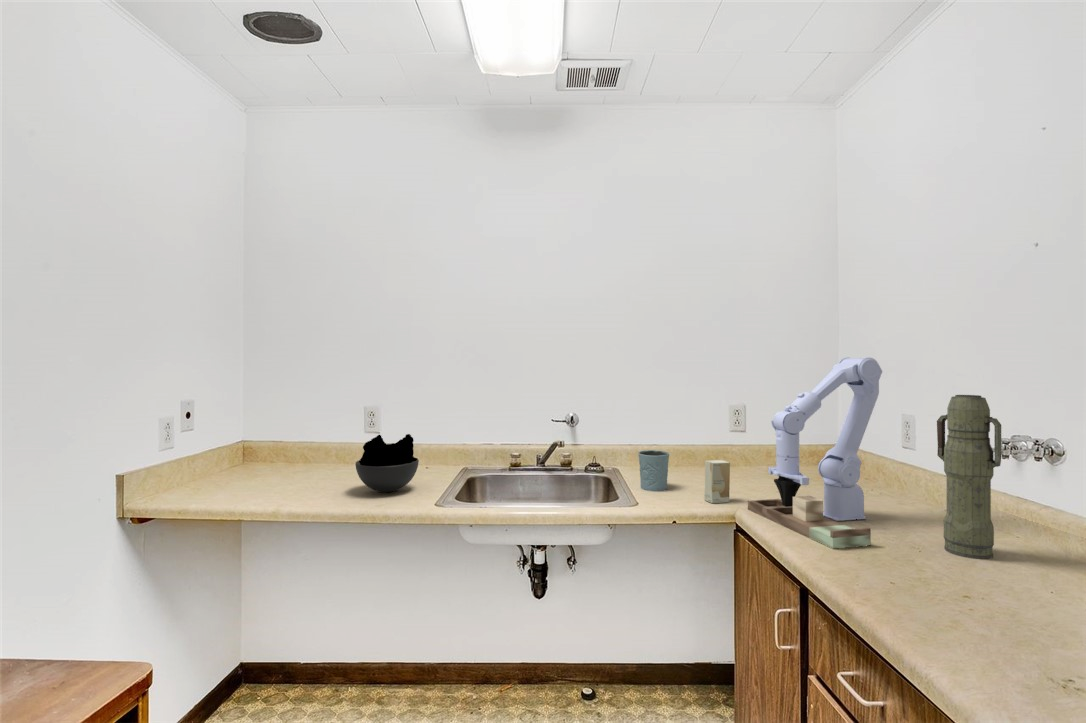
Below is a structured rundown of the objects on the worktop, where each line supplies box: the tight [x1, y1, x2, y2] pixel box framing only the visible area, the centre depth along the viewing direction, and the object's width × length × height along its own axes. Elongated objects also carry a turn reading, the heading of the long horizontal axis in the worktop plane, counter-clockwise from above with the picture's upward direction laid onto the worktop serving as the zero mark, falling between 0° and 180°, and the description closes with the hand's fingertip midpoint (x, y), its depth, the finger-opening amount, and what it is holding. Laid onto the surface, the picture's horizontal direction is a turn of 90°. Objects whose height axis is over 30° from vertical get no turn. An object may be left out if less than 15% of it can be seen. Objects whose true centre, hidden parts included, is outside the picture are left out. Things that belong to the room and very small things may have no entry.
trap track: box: [747, 498, 872, 550], centre depth 143 cm, size 10×34×4 cm, turn 12°
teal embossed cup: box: [637, 449, 670, 492], centre depth 185 cm, size 10×10×12 cm
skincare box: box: [704, 459, 731, 504], centre depth 168 cm, size 6×4×12 cm
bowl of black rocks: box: [355, 433, 420, 493], centre depth 182 cm, size 20×20×19 cm
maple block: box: [793, 495, 824, 522], centre depth 141 cm, size 5×5×5 cm
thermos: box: [936, 394, 1002, 560], centre depth 123 cm, size 9×12×35 cm
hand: (787, 506), depth 149 cm, fingers closed
